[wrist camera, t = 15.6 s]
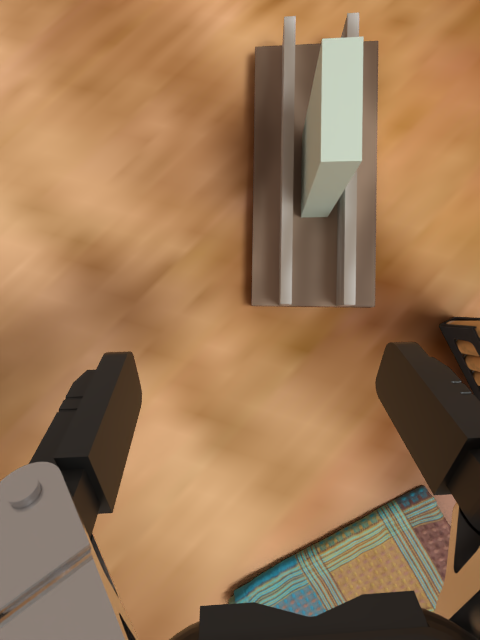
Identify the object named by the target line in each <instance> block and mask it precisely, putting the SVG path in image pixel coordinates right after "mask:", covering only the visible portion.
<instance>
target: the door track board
mask: <svg viewBox="0 0 480 640" xmlns="http://www.w3.org/2000/svg"><path fill="white" fill-rule="evenodd" d="M295 23H296V16H291V17H284V30H283V45H282V46H263V47H255V111H254V180H253V249H252V306H287V307H375V262H376V182H377V102H378V41H365V42H363V115H362V162H361V163H360V165H359V167H358V168H357V170H356V171H355V173H354V175H353V176H352V178H351V180H350V181H349V183H348V185H347V186H346V188H345V189H344V191H343V193H342V194H341V196H340V198H339V199H338V201H337V203H336V204H335V206H334V207H333V209H332V211H331V212H330V214H329V216H328V217H301V167H302V134H303V129H304V124H305V120H306V115H307V110H308V105H309V100H310V96H311V91H312V86H313V81H314V76H315V71H316V67H317V62H318V57H319V52H320V47H321V44H304V45H295ZM347 37H359V13H348V14H347V18H346V21H345V25H344V29H343V32H342V36H341V38H347Z"/></svg>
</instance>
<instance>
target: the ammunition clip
mask: <svg viewBox="0 0 480 640" xmlns="http://www.w3.org/2000/svg"><path fill="white" fill-rule="evenodd" d="M439 327H440V329H441V331H442V333H443V335H444V337H445V339H446V341H447V343H448V345H449V346H450V348H451V350H452V352H453V354H454V356H455V358H456V360H457V362H458V364H459V366H460V368H461V370H462V372H463V373H464V375H465V377H466V379H467V381H468V383H469V385H470V387H471V389H472V391H473V393H474V395H475V396H476V397H477V398H478V400H479V401H480V318H469V317H454V318H452V319H450V320H448V321H446V322H444V323H442V324H440V326H439Z"/></svg>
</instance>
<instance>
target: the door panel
mask: <svg viewBox="0 0 480 640" xmlns="http://www.w3.org/2000/svg"><path fill="white" fill-rule="evenodd" d="M362 115H363V37H347V38H328V39H322V43H321V47H320V52H319V57H318V62H317V67H316V71H315V76H314V81H313V86H312V91H311V96H310V100H309V105H308V110H307V115H306V120H305V124H304V129H303V134H302V167H301V217H328V216H329V214H330V212H331V211H332V209H333V207H334V206H335V204H336V203H337V201H338V199H339V198H340V196H341V194H342V193H343V191H344V189H345V188H346V186H347V185H348V183H349V181H350V180H351V178H352V176H353V175H354V173H355V171H356V170H357V168H358V167H359V165H360V163H361V162H362Z"/></svg>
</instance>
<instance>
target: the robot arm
mask: <svg viewBox="0 0 480 640" xmlns="http://www.w3.org/2000/svg"><path fill="white" fill-rule="evenodd" d="M376 391H377V395H378V397H379V399H380V401H381V403H382V404H383V406H384V408H385V410H386V412H387V413H388V415H389V417H390V419H391V420H392V422H393V424H394V426H395V427H396V429H397V431H398V433H399V434H400V436H401V438H402V440H403V441H404V443H405V445H406V447H407V449H408V450H409V452H410V454H411V456H412V457H413V459H414V461H415V463H416V464H417V466H418V468H419V470H420V471H421V473H422V475H423V477H424V479H425V480H426V482H427V484H428V486H429V487H430V489H431V491H432V493H433V494H434V495H445V494H452V495H453V497H454V499H455V500H456V504H455V506H454V508H453V513H452V522H451V531H450V540H449V549H448V559H447V568H446V576H445V581H444V584H443V587H442V590H441V592H440V594H439V597H438V600H437V604H436V608H435V613H434V612H431V611H429V610H426V609H423V608H421V607H420V604H419V602H418V599H417V597H416V594H415V592H414V591H400V592H387V593H373V594H362V595H360V596H358V597H356V598H353V599H351V600H349V601H347V602H345V603H343V604H341V605H338V606H336V607H334V608H332V609H330V610H328V611H326V612H323V613H321V614H319V615H317V616H312V617H309V616H304V615H300V614H296V613H293V612H289V611H285V610H281V609H277V608H274V607H270V606H266V605H262V604H259V603H255V602H250V603H237V604H223V605H209V606H200V621H199V622H197V623H194V624H192V625H190V626H188V627H187V628H185V629H183V630H182V631H180V632H179V633H177V634H176V635H174V636H173V637H172V638H171V639H170V640H480V401H479V400H478V398H477V397H476V396H475V395H474V394H471V391H470V390H469V389H468V387H467V386H466V385H465V384H464V383H461V380H460V379H459V378H458V377H457V375H456V374H455V373H454V372H453V371H452V370H451V369H450V368H449V367H447V366H446V365H444V364H443V363H441V362H440V361H438V360H437V359H435V358H434V357H429V356H428V355H427V354H426V353H425V351H424V350H423V349H422V348H421V347H420V346H419V345H418V344H417V343H416V342H392V343H388V344H387V346H386V348H385V351H384V354H383V357H382V360H381V364H380V367H379V370H378V374H377V377H376ZM141 402H142V390H141V385H140V381H139V377H138V372H137V368H136V364H135V360H134V356H133V354H132V352H109V353H105V354H104V355H103V357H102V359H101V361H100V363H99V365H98V367H97V369H96V370H87V371H86V372H85V373H83V374H82V375H81V376H80V377H79V378H78V379H77V380H76V381H75V382H74V383H73V384H72V386H71V388H70V390H69V392H68V393H67V395H66V399H65V400H64V401H63V403H62V404H61V406H60V408H59V412H57V414H56V415H55V417H54V419H53V421H52V423H51V425H50V426H49V428H48V430H47V432H46V434H45V436H44V437H43V439H42V441H41V443H40V445H39V447H38V448H37V450H36V452H35V454H34V456H33V458H32V459H31V461H30V463H29V464H28V465H25V466H23V467H21V468H18V469H17V470H15V471H13V472H12V473H10V474H9V475H8V476H6V477H5V478H4V479H3V480H2V481H1V482H0V640H139V638H138V636H137V633H136V631H135V629H134V626H133V624H132V622H131V620H130V618H129V616H128V614H127V611H126V609H125V607H124V605H123V603H122V600H121V598H120V596H119V593H118V591H117V589H116V586H115V584H114V581H113V579H112V577H111V574H110V572H109V570H108V567H107V565H106V562H105V560H104V558H103V555H102V553H101V550H100V548H99V546H98V543H97V541H96V539H95V536H94V534H93V532H92V531H93V528H94V524H95V521H96V518H97V515H98V514H102V513H112V512H113V509H114V505H115V501H116V497H117V494H118V490H119V486H120V483H121V479H122V475H123V471H124V468H125V464H126V460H127V457H128V453H129V449H130V445H131V442H132V438H133V434H134V431H135V427H136V423H137V419H138V416H139V412H140V408H141Z"/></svg>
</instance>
